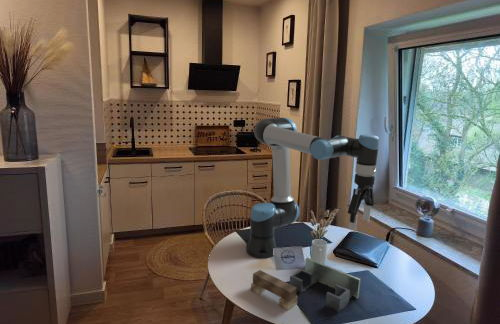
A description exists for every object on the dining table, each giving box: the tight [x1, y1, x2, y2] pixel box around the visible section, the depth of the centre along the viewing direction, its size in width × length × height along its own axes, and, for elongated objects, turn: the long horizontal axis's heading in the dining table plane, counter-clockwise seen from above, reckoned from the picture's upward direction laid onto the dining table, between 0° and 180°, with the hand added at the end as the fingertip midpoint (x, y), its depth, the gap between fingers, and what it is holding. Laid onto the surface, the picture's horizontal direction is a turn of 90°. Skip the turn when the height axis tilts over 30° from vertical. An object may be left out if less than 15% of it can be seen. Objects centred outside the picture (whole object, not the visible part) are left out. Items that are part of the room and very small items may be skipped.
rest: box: [250, 282, 298, 311], centre depth 135 cm, size 18×6×3 cm, turn 48°
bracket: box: [289, 257, 361, 313], centre depth 138 cm, size 24×14×8 cm, turn 48°
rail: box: [252, 269, 297, 302], centre depth 134 cm, size 18×4×4 cm, turn 48°
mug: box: [310, 238, 328, 265], centre depth 156 cm, size 10×7×12 cm, turn 173°
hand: (359, 224), depth 142 cm, fingers open, 13 cm apart
